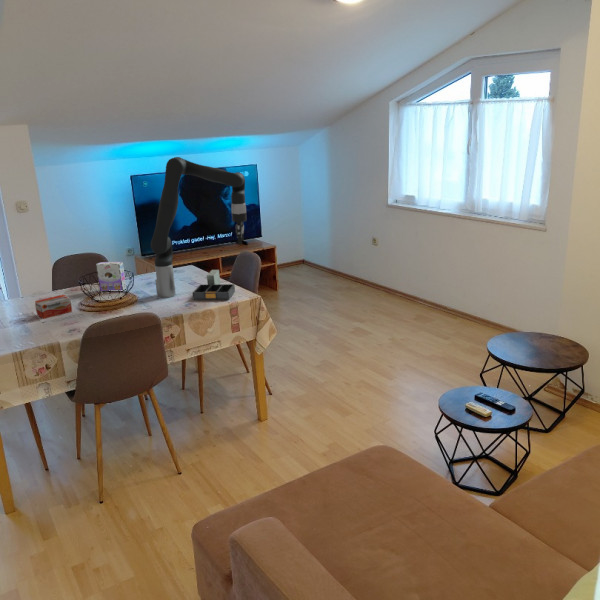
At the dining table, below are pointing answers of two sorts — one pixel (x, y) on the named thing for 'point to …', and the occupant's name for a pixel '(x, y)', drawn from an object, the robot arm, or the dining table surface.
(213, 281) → the grey-green rectangular block
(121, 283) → the candy box
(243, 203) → the robot arm
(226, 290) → the rack
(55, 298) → the medicine box
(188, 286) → the dining table surface
